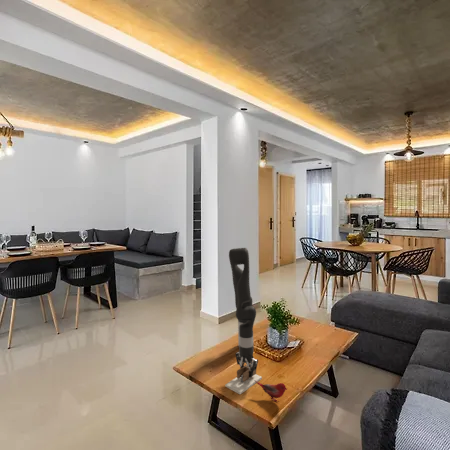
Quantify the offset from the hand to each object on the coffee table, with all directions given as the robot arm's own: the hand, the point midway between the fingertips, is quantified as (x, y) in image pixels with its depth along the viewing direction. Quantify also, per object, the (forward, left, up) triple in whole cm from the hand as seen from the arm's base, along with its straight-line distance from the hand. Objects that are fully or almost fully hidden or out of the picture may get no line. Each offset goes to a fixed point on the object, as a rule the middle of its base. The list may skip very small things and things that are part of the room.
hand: (246, 374), depth 163 cm
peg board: (+2, 0, -3) cm, 4 cm away
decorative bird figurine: (+4, +18, -3) cm, 19 cm away
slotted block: (0, 0, 0) cm, 0 cm away
